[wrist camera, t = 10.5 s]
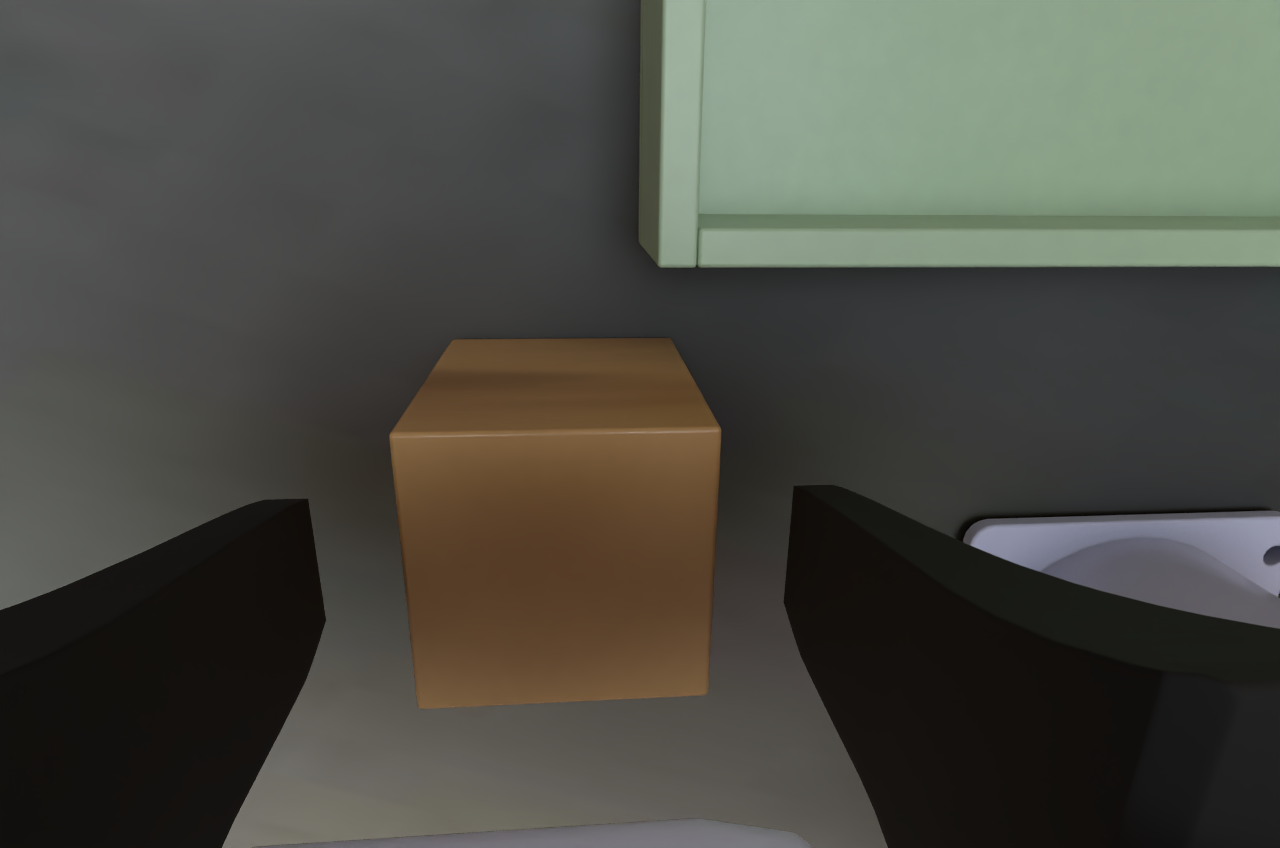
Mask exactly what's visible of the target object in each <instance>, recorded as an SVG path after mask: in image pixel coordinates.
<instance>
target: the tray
mask: <svg viewBox="0 0 1280 848" xmlns="http://www.w3.org/2000/svg"><path fill="white" fill-rule="evenodd" d="M639 243H640V245H641V246H642V247H643V248H644V249H645V251H646V252H647V253H648V254H649V255H650V257H651V258H652V259H653V260H654V261H655V263H656V264H657V265H658V266H659V267H661V268H693V267H696V265H697V266H698V267H701V268H881V267H1280V0H641V26H640V136H639Z"/></svg>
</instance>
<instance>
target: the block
mask: <svg viewBox="0 0 1280 848" xmlns="http://www.w3.org/2000/svg"><path fill="white" fill-rule="evenodd" d="M721 432H722V431H721V428H720V426H719V424H718V422H717V421H716V419H715V417H714V415H713V413H712V412H711V410H710V408H709V406H708V404H707V403H706V401H705V399H704V397H703V395H702V394H701V392H700V390H699V388H698V386H697V385H696V383H695V381H694V379H693V377H692V376H691V374H690V372H689V370H688V368H687V367H686V365H685V363H684V361H683V360H682V358H681V356H680V354H679V352H678V351H677V349H676V347H675V345H674V343H673V342H672V340H671V339H670V338H568V339H454V340H452V341H451V343H450V344H449V346H448V347H447V349H446V350H445V352H444V353H443V355H442V356H441V358H440V359H439V361H438V362H437V364H436V365H435V367H434V368H433V370H432V371H431V373H430V374H429V376H428V377H427V379H426V380H425V382H424V383H423V385H422V386H421V388H420V389H419V391H418V392H417V394H416V395H415V397H414V398H413V400H412V401H411V403H410V404H409V406H408V407H407V409H406V410H405V412H404V413H403V415H402V416H401V418H400V419H399V421H398V422H397V424H396V425H395V427H394V428H393V430H392V432H391V433H390V436H389V440H390V450H391V459H392V469H393V478H394V488H395V497H396V507H397V516H398V526H399V535H400V545H401V554H402V564H403V573H404V583H405V592H406V602H407V611H408V621H409V630H410V640H411V649H412V659H413V668H414V678H415V687H416V697H417V705H418V707H419V708H420V709H431V708H451V707H472V706H493V705H513V704H534V703H555V702H575V701H596V700H616V699H637V698H658V697H678V696H699V695H706V694H707V693H708V689H709V669H710V649H711V629H712V610H713V590H714V570H715V550H716V531H717V511H718V491H719V471H720V452H721Z"/></svg>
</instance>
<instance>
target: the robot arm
mask: <svg viewBox="0 0 1280 848" xmlns="http://www.w3.org/2000/svg"><path fill="white" fill-rule="evenodd" d="M1267 550H1268V551H1267ZM1266 551H1267V552H1266ZM1279 591H1280V512H1279V511H1240V512H1206V513H1171V514H1137V515H1103V516H1069V517H1035V518H1001V519H985V520H980V521H978V522H976V523H975V524H973V525H972V526H971V527H970V528H969V529H968V530H967V531H966V533H965V536H964V539H963V542H961V541H959V540H956V539H954V538H952V537H950V536H947V535H945V534H943V533H941V532H938V531H936V530H934V529H932V528H930V527H928V526H925V525H923V524H921V523H919V522H917V521H915V520H913V519H911V518H909V517H906V516H904V515H902V514H900V513H898V512H896V511H894V510H892V509H890V508H888V507H886V506H883V505H881V504H879V503H877V502H875V501H873V500H871V499H869V498H866V497H864V496H862V495H860V494H857V493H855V492H853V491H850V490H848V489H845V488H842V487H839V486H835V485H811V486H794V490H793V502H792V513H791V525H790V536H789V548H788V559H787V570H786V582H785V593H784V604H785V608H786V611H787V614H788V618H789V621H790V624H791V628H792V631H793V634H794V637H795V640H796V643H797V646H798V649H799V652H800V655H801V658H802V660H803V662H804V664H805V666H806V668H807V670H808V672H809V675H810V677H811V679H812V681H813V683H814V685H815V687H816V689H817V691H818V693H819V695H820V697H821V699H822V701H823V703H824V706H825V708H826V710H827V712H828V714H829V716H830V718H831V720H832V722H833V724H834V726H835V728H836V730H837V732H838V734H839V736H840V738H841V740H842V742H843V744H844V746H845V748H846V750H847V752H848V754H849V756H850V758H851V760H852V762H853V764H854V766H855V768H856V770H857V772H858V774H859V776H860V778H861V781H862V783H863V785H864V787H865V790H866V792H867V794H868V797H869V799H870V801H871V803H872V806H873V808H874V810H875V813H876V816H877V819H878V821H879V824H880V827H881V830H882V832H883V835H884V838H885V840H886V843H887V846H888V848H1280V598H1279V597H1278V594H1279ZM325 622H326V617H325V610H324V604H323V597H322V590H321V583H320V577H319V570H318V563H317V556H316V550H315V543H314V536H313V529H312V523H311V516H310V509H309V502H308V499H276V500H262V501H258V502H255V503H252V504H249V505H246V506H243V507H241V508H238V509H236V510H234V511H231V512H229V513H226V514H224V515H222V516H220V517H218V518H215V519H213V520H211V521H209V522H207V523H204V524H202V525H200V526H198V527H196V528H194V529H192V530H189V531H187V532H185V533H183V534H181V535H179V536H177V537H174V538H172V539H170V540H168V541H166V542H164V543H162V544H159V545H157V546H155V547H153V548H151V549H149V550H147V551H144V552H142V553H140V554H138V555H135V556H133V557H131V558H129V559H126V560H124V561H122V562H119V563H117V564H115V565H112V566H110V567H108V568H105V569H103V570H101V571H99V572H96V573H94V574H92V575H89V576H87V577H85V578H82V579H80V580H78V581H75V582H73V583H71V584H69V585H66V586H64V587H61V588H59V589H56V590H54V591H51V592H49V593H46V594H43V595H41V596H38V597H36V598H33V599H30V600H28V601H25V602H22V603H20V604H17V605H14V606H11V607H8V608H5V609H3V610H0V848H222V846H223V844H224V841H225V839H226V837H227V835H228V833H229V831H230V828H231V826H232V824H233V822H234V820H235V818H236V816H237V814H238V812H239V810H240V808H241V806H242V804H243V802H244V800H245V798H246V796H247V794H248V793H249V791H250V789H251V787H252V785H253V783H254V781H255V779H256V777H257V775H258V773H259V771H260V769H261V767H262V765H263V764H264V762H265V760H266V758H267V756H268V754H269V752H270V750H271V748H272V746H273V744H274V742H275V740H276V738H277V737H278V735H279V733H280V731H281V729H282V727H283V725H284V723H285V721H286V719H287V717H288V715H289V713H290V711H291V709H292V707H293V705H294V703H295V701H296V699H297V697H298V695H299V693H300V691H301V689H302V687H303V685H304V683H305V681H306V679H307V676H308V673H309V670H310V667H311V665H312V662H313V659H314V656H315V653H316V650H317V647H318V644H319V641H320V638H321V634H322V631H323V628H324V625H325ZM252 848H814V847H813V846H811V845H810V844H809V843H807V842H806V841H805V840H804V839H802V838H801V837H800V836H798V835H797V834H796V833H793V832H788V831H782V830H776V829H769V828H762V827H755V826H748V825H741V824H734V823H727V822H720V821H713V820H707V819H700V818H687V819H672V820H657V821H641V822H626V823H611V824H595V825H580V826H564V827H549V828H534V829H518V830H503V831H488V832H472V833H457V834H441V835H426V836H411V837H395V838H380V839H364V840H349V841H334V842H318V843H303V844H288V845H272V846H257V847H252Z"/></svg>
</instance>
